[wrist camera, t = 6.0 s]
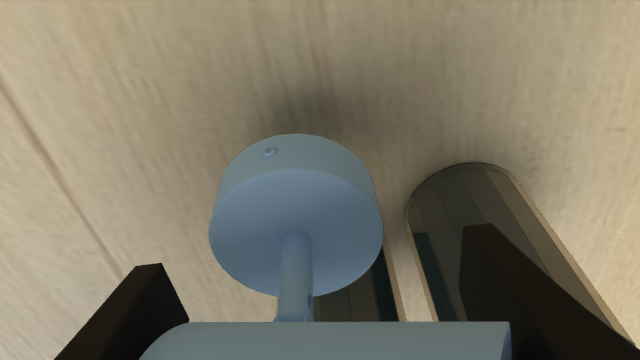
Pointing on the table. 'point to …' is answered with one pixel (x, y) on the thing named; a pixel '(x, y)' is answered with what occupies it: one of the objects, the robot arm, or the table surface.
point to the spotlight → (309, 264)
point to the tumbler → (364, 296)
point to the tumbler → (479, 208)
